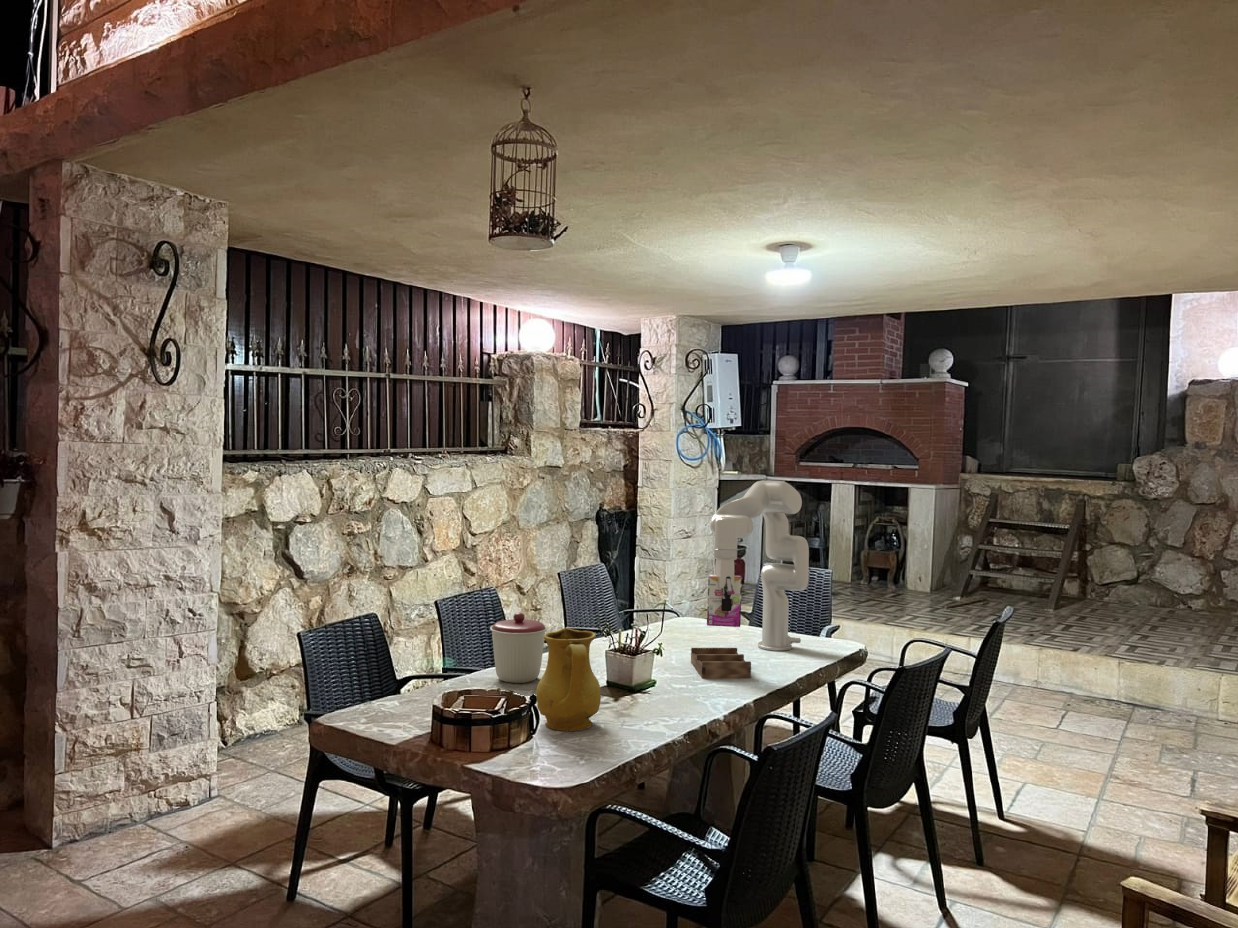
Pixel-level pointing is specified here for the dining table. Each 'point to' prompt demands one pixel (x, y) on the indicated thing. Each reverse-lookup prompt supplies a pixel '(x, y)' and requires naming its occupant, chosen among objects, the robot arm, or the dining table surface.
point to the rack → (720, 663)
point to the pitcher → (568, 682)
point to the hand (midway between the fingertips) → (724, 608)
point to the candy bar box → (715, 602)
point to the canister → (518, 648)
